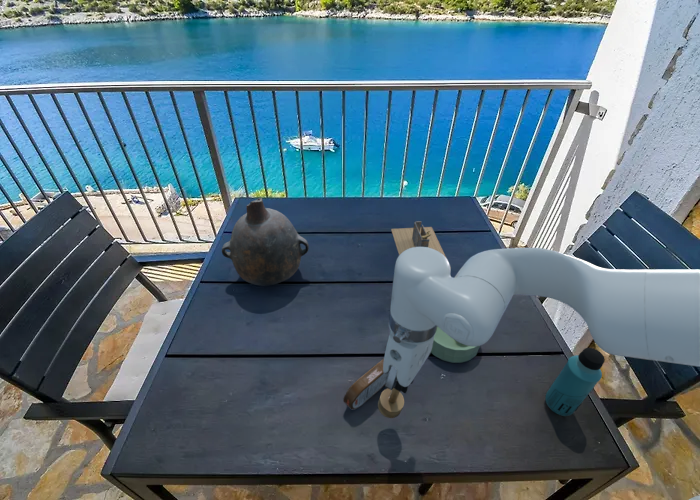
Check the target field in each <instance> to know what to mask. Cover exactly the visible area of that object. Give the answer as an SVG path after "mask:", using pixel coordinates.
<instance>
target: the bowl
mask: <svg viewBox="0 0 700 500" xmlns="http://www.w3.org/2000/svg"><path fill="white" fill-rule="evenodd" d="M481 346H482V345H480V346H467V345H464V344H462V343H460V342H458V341H456V340H454V339H453V338H451V337H450V336H449V335H447V334H446V333H445V332H444V331H442V330H441V329H440V328H439V327H437V330H436V334H435V336H434V341H433V346H432V350H431V352H430V354H431V355H433V356H434V357H436V358H438V359H440V360H442V361H445V362H448V363H453V364H454V363H455V364H457V363H459V364H460V363H465V362H468V361H471V360H472V359H473V358H475V357H476V356H477V354H478V353H479V350H480V349H481Z"/></svg>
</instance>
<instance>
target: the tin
mask: <svg viewBox="0 0 700 500" xmlns="http://www.w3.org/2000/svg"><path fill="white" fill-rule="evenodd" d="M383 362H384V358H383V359H381V360H380V361H378V362H377V363H376V364H375V365H373V367H371V368H370V369H369V370H368V371H366V372H365V373H363V375H362V376H360V377H359V378H357V380H355V381H354V382H353V384H352V385H350V387H349V388H348V389H347V391H346V392H345V394H344V396H343V403H344V404H346V405H347V407H348V408H349V409H351V410H352V411H353V410H357V409H359V408H360V407H362V406H363V405H364V404H365V403H367V401H368V400H370V399H371V398H372V397H373V396H375V395H376V394H377V393H378V392H379V391H380V390H381V389H382V388H384V387H385V384H386V381H387V378H388V375H389V372H390V371H389V372H388V373H387V374H384V372H383Z"/></svg>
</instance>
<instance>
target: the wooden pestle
mask: <svg viewBox="0 0 700 500" xmlns="http://www.w3.org/2000/svg"><path fill="white" fill-rule="evenodd" d="M404 406H405V397H404V395H403V393H401V391H398V390H396V389H395V388H393V389H392V390H390V389H388V388H385V389H384V390H382V392H381V393H380V396H379V399H378V401H377V407H378V408H377V409H378V410H379V412H380V414H381V415H382V416H384V417H385V418H387V419H395V418H398V417H399V416H400V414H401V413H402V410H403V409H404Z"/></svg>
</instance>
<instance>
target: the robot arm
mask: <svg viewBox="0 0 700 500" xmlns="http://www.w3.org/2000/svg"><path fill="white" fill-rule="evenodd" d="M445 256H446V255H445ZM445 256H444V255H443V254H441V253H440V252H438V251H436V250H434V249H431V248H428V247H413V248H409V249H407V250H405V251H404V252H402V253H401V254H400V255H399V254H398V256H397V258H396V260H397V261H395V265H394V271H393V273H394V274H393V278H392V288H391V289H392V290H391V297H390V308H389V316H388V328H389V335H388V339H387V342H386V347H385V351H384V356H383V359H384V362H383V372H384V374H387V373H388V372H389V371H390V372H389V375H388V378H387V381H386V384H385V385H384V387H385V388H386V389H390V390H392V389H393V388H395V389H396V390H398V391H400V392H402V394H407V392H408V389H409V386H410V385H411V384H413V383H414V381H415V378H416V376H417V375H418V373H419V372H420V370H421V369H422V367H423V366H424V364H425V362H426V361H427V359H428V358H429V356H430V355H431V350H432V346H433V341H434V336H435V334H436V330H437V327H439V328H440V329H441V330H442V331H444V332H445V333H446V334H447V335H449V336H450V337H451V338H453V339H454V340H456V341H458V342H460V343H462V344H464V345H467V346H480V345H481V346H483V345H485V344H486V343H487V342H489V340H490V339H491V338H492V337H493V335H494V334H495V331H496V329H497V328H498V325H499V324H500V321H501V320H502V318H503V315H504V314H505V312H506V310H507V308H508V306H509V305H510V302H511V300H512V298H513V296H530V297H531V296H532V297H540V298H541V297H543V298H546V299H547V298H548V299H552V300H556V301H558V302H561V303H563V304H565V305H567V306H568V307H570V308H571V309H573V310H574V311H575V312H576V313H577V314H578V315H579V316H580V317H581V319H583V321H584V322H585V324H586V326H587V328H588V332H589V334H590V335H591V337H592V339H593V341H594V344H596V345H597V347H598V348H599V349H601V350H602V351H603V352H605V353H607V354H609V355H612V356H619V357H627V358H634V359H641V360H648V361H656V362H664V363H669V364H670V363H671V364H678V365H686V366H693V367H700V269H619V268H618V269H616V268H605V267H600V266H597V265H595V264H593V263H591V262H589V261H586V260H584V259H581V258H578V257H576V256H572V255H569V254H566V253H564V252H563V253H562V252H560V251H556V250H552V249H548V248H541V247H509V248H507V247H506V248H494V249H488V250H484V251H481V252H478V253H476V254H474V255H472V256H470V257H469V258H468V259H467V260H466V261H465V263H464V264H463V265H462V266H461V268H459V270H458V272H457V273H456V274H455V276H454V277H453V276H451V274H452V273H451V272H452V271H451V269H452V267H451V264H450V261H449V259H448V258H447V256H446V257H445ZM446 258H447V259H446ZM450 267H451V268H450ZM481 346H480V347H481ZM688 500H700V494H699V495H696V496H693V497H691V498H689V499H688Z"/></svg>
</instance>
